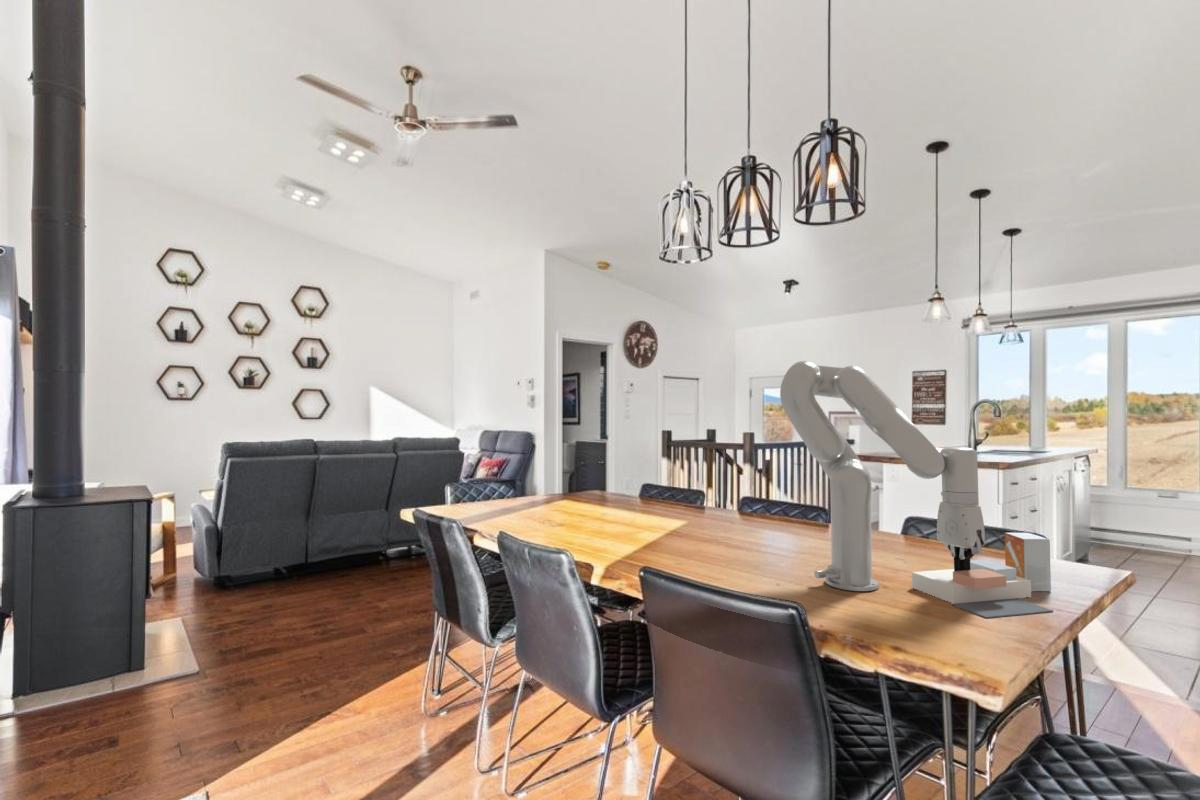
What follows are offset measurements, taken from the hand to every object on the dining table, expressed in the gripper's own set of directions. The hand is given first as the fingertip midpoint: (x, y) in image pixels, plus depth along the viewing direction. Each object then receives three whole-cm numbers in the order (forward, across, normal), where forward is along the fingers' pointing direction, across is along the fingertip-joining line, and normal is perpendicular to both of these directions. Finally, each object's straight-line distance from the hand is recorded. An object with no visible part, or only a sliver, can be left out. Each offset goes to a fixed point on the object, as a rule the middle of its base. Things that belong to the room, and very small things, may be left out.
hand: (962, 574), depth 142 cm
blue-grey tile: (+1, -2, +10) cm, 10 cm away
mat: (+5, +10, +1) cm, 11 cm away
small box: (+6, -2, +22) cm, 22 cm away
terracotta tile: (+1, +5, 0) cm, 5 cm away
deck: (+5, -2, +4) cm, 7 cm away
